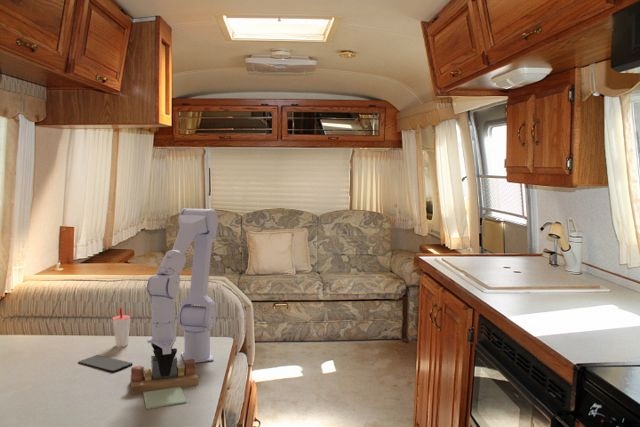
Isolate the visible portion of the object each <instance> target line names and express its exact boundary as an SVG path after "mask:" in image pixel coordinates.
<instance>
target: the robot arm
mask: <svg viewBox="0 0 640 427" xmlns="http://www.w3.org/2000/svg"><path fill="white" fill-rule="evenodd" d="M177 221H178V227H179V229H178V233H177V235H176V238H175V241H174V243H173V247H172V249H171V250H168V251H166V252H165V255H164V257H163V258H162V260H161V263H160V264H159V266H158V269H157V270H156V274H153V275H152V276H150V277H149V279H148V280H147V283H146V287H145V288H146V289H145V290H146V291H145V292H146V293H147V296H148V301H149V304H150V305H151V337H148V338H146V341H147V344H150V345H151V347H152V349H153V350H152V352H153V354H154V355H153V356H156V358H157V360H158V364H159V370H160V374H161V377H164V376H169V375H170V372H171V367H172V362H173V359H174V357H175V355H176V356H177V352H178V349H177V347H175V348H173V346H174V344H175V342H176V341H177V335H176V298H175V297H176V296H177V295H178V294H179V290H180V282H181V277H180V276H181V275H182V271H183V269H184V268H185V265H186V263H187V257H186V256H185V255H186V253H187V252H188V249H190V246H191V244H192V242H193V241H194V245H193V246H194V249H193V256H192V257H193V259H192V268H191V278H190V286H189V287H190V288H189V294H188V295H187V296H186V297H185V298H183V299H182V300H181V301H180V307H179V309H178V313H177V322H178V324H179V326H180V327H181V330H183V331H184V333H183V334H184V336H183V337H184V338H183V341H184V344H183V346H184V349H183V350H184V351H181V352H180V354H181V357H182V359H183V361H184V360H190V359H194V361H195V364H196V363H203V362H204V363H205V362H209V361H214V356H213V355H212V354H211V332H210V331H211V329H212V328H213V326H215V323H216V320H217V312H216V302H215V301H214V300H213V299H212V298H211V297H210V296H209V295H208V288H209V277H210V268H211V257H212V256H211V255H212V246H213V239H215V238H217V233H218V228H219V227H218V226H219V216H218V213H217V211H216V210H215V209H214V208H209V209H208V208H188V207H183V208H182V209H181V211H180V213H179V215H178V220H177Z"/></svg>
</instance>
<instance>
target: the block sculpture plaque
mask: <svg viewBox="0 0 640 427" xmlns="http://www.w3.org/2000/svg"><path fill="white" fill-rule="evenodd" d="M183 362H184V365H183V363H179V364H178V363H177V377H174V378H167V379H160V380H153V379H152V375H151V367H148V368H144V367H145V366H143V365H135V366H133V367H132V366H131V368H130V371H131V372H130V386H131V393H132V394H131V395H138V394H143V392H148V391H154V390H161V389H168V388H174V387H181V388H184V387H185V388H186V387H191V386H198V385H199V376H198V372H197V371H196V363H195V361H194V359H190V360H184V359H183Z"/></svg>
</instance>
